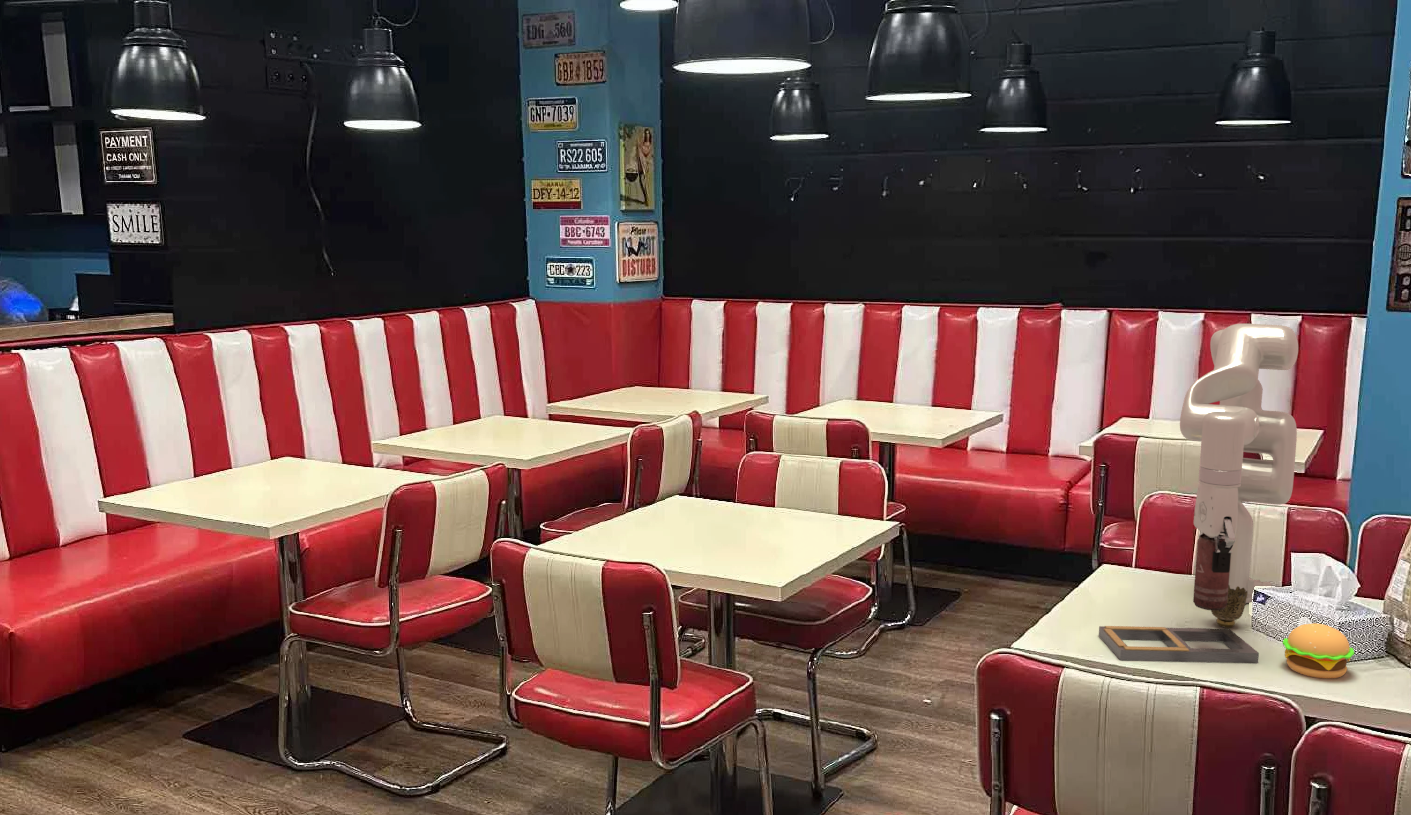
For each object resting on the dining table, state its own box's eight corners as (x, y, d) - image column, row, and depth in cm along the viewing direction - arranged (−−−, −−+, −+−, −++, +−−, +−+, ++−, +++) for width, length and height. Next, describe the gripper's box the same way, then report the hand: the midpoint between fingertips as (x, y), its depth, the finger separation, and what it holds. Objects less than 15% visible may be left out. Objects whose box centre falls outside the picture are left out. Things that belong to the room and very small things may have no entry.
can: (1211, 613, 234) (1216, 542, 231) (1186, 603, 240) (1191, 534, 237) (1234, 609, 236) (1240, 539, 234) (1209, 599, 242) (1214, 531, 240)
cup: (1250, 625, 253) (1253, 588, 252) (1237, 634, 248) (1240, 596, 247) (1214, 617, 258) (1216, 581, 257) (1200, 625, 253) (1203, 588, 252)
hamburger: (1268, 667, 229) (1272, 623, 228) (1300, 654, 237) (1303, 611, 235) (1333, 687, 220) (1337, 641, 219) (1363, 673, 227) (1368, 628, 226)
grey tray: (1228, 638, 245) (1229, 627, 245) (1258, 663, 231) (1258, 652, 231) (1098, 635, 246) (1099, 625, 246) (1120, 660, 232) (1120, 649, 232)
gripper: (1183, 466, 242) (1178, 553, 245) (1217, 486, 225) (1210, 580, 228) (1222, 466, 242) (1215, 554, 245) (1258, 487, 225) (1251, 580, 228)
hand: (1213, 565), depth 237 cm, fingers closed on can, 6 cm apart
